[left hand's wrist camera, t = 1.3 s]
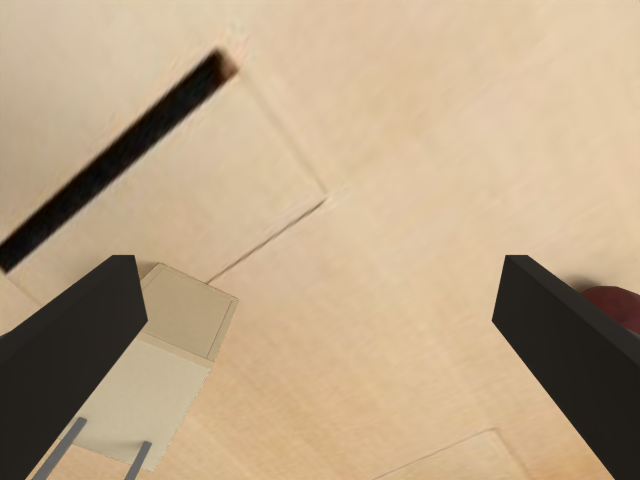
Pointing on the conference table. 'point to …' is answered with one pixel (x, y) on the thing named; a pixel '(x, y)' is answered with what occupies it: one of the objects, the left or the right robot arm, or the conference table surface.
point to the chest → (186, 311)
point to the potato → (617, 305)
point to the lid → (136, 406)
